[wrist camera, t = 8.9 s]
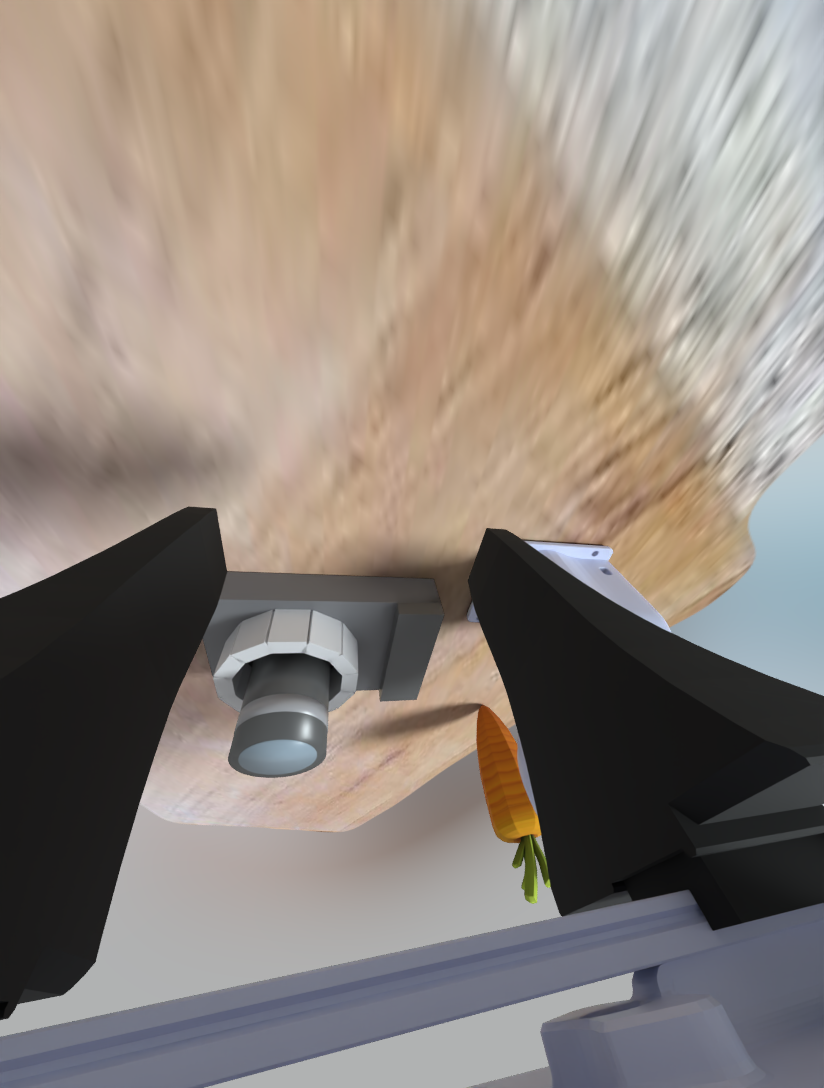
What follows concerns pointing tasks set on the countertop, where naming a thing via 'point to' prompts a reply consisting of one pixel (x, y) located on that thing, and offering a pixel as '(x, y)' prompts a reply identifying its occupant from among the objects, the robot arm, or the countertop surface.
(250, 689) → the lens
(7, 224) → the countertop surface
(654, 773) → the robot arm
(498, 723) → the carrot
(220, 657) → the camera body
